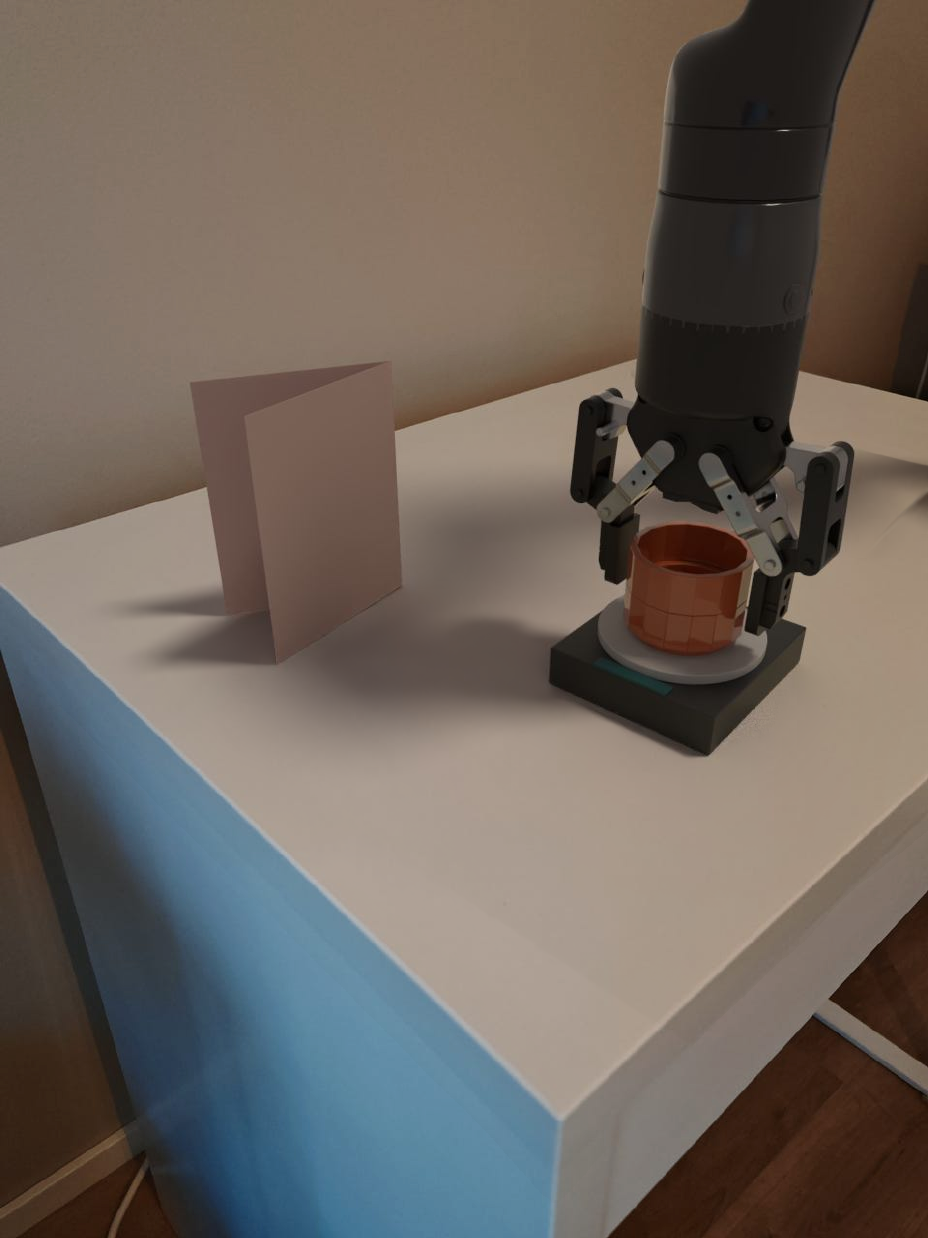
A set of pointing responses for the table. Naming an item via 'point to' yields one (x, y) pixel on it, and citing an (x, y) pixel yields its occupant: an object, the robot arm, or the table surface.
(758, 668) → the scale
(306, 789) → the table surface
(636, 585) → the orange cup
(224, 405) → the greeting card
